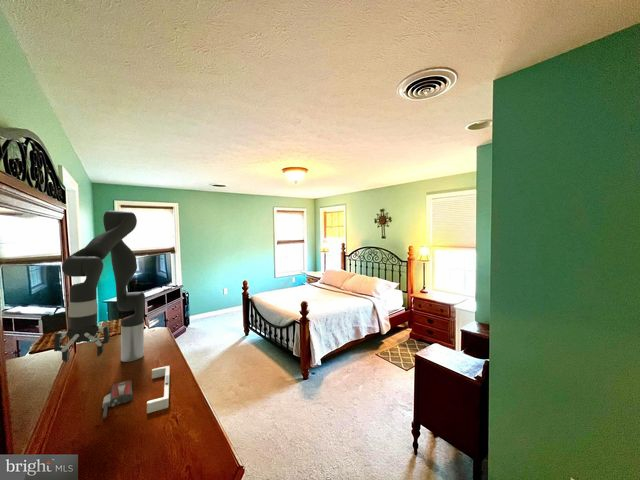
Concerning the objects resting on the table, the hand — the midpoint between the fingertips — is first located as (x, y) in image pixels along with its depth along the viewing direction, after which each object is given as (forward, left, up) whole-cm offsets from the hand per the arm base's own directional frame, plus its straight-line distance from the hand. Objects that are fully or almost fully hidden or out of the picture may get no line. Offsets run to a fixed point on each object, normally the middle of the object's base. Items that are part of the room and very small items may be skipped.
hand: (83, 358), depth 89 cm
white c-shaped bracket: (0, +22, -19) cm, 29 cm away
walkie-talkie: (-1, +10, -19) cm, 22 cm away
